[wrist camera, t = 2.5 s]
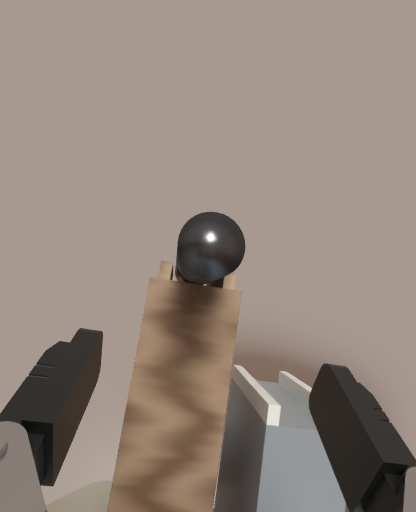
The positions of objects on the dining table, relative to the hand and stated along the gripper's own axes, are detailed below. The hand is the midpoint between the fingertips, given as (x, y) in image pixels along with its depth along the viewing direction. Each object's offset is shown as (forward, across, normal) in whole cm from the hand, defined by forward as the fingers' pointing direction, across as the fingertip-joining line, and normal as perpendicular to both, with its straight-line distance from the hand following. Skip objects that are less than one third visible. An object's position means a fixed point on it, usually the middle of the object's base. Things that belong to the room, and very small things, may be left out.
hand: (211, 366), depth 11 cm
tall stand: (+4, 0, +35) cm, 36 cm away
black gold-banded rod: (+16, 0, +5) cm, 17 cm away
